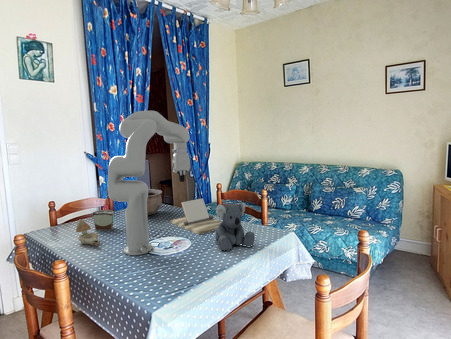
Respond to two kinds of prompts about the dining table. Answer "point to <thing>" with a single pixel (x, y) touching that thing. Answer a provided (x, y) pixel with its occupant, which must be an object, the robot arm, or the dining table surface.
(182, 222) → the tile stand
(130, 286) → the dining table surface
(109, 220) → the food container
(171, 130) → the robot arm
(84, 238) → the oil lamp
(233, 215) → the koala plush
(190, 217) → the tile
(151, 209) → the ceramic bowl
